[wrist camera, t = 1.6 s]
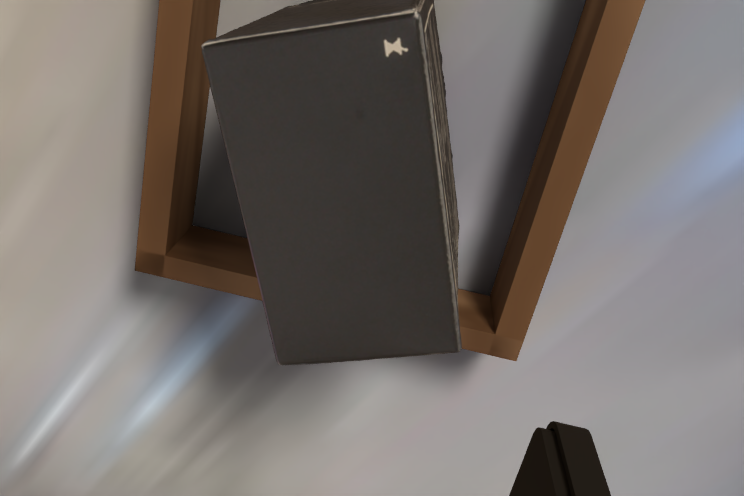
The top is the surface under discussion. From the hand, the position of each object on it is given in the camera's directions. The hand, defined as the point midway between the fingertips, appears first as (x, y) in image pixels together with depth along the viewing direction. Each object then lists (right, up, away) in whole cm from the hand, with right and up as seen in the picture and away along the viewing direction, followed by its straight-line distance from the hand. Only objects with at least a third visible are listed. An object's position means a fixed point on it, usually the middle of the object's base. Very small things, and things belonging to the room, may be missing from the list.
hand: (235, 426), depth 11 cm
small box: (+2, +8, +19) cm, 21 cm away
